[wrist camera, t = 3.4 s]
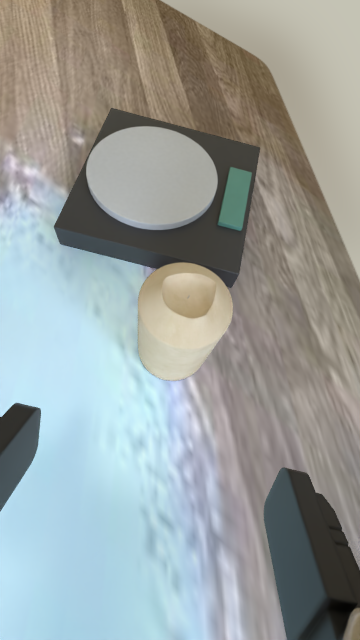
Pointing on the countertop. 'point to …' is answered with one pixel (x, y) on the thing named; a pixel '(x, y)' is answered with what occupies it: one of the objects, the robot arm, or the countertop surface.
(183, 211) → the kitchen scale
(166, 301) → the candle
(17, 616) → the countertop surface
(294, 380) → the countertop surface
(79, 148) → the countertop surface
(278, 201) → the countertop surface
